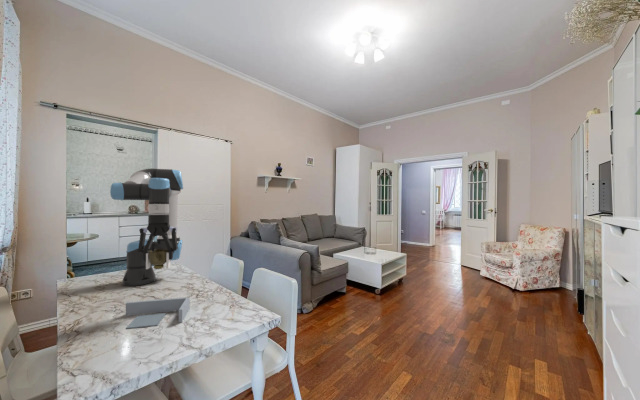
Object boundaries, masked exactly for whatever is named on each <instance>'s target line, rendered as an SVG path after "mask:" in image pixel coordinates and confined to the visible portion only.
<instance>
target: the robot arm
mask: <svg viewBox="0 0 640 400" xmlns="http://www.w3.org/2000/svg"><path fill="white" fill-rule="evenodd" d="M183 189H184V183H183V175H182V172H181V170H178V169H172V168H171V169H170V168H168V169H167V168H145V169H141V170H137V171H134V172H133V173H132V174H131V175H130V178H128V180H126V181H124V182H113V183H112V184H111V186H110V190H109V193H110V197H111V199H112V200H116V201H148V213H149V214H148V218H147V219H148V220H147V224H148V225H147V226H146V227H141V228H139V234H140V235H139V240H134V241H131V242H129V243H128V244H127V245H126V270H125V273H124V276H123V278H122V280H121V281H122V284H121V285H123V286H124V287H136V286H137V287H138V286H142V285H148V284H150V283H153V282H155V281H156V278H157V277H156V273H155V271H154V270H155V269H154V267H153V265H152V264H151V263H150V259H149V252H148V251H150V250H152V251H154V249H159V248H160V249H161V250H162V249H164V250H165V249H168V251H169V252H168V253H166V263H165V264H166V265H165V268H166V269H169V268H170V267H171V261H176V260H179V259H180V257H181V253H182V248H183V240H182V239H181V238H180V236H179V234H178V195H179V194H180V193H181V190H183ZM148 232H149V233H150V234H149V235H148V238H147V239H146V236H147V233H148ZM157 236H158V237H157ZM156 237H157V238H156ZM155 238H156V241H154V239H155Z"/></svg>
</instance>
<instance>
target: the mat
mask: <svg viewBox="0 0 640 400" xmlns="http://www.w3.org/2000/svg"><path fill="white" fill-rule="evenodd" d="M166 314H167V312H159V313H149V314H138V315H136V317H135V318H134V319H133V320H132V321H131V322H130V323H129V325H127V326H126V328H125V330H129V329H139V328H148V327H158V325H159V324H160V322H161V321H162V320H163V318H165V316H166Z"/></svg>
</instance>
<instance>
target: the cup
mask: <svg viewBox="0 0 640 400" xmlns="http://www.w3.org/2000/svg"><path fill="white" fill-rule="evenodd" d="M148 252H149V259H150V263H151V264H152V266H153V270H160V269H161V270H162V269H163V268H164V266H165V264H166V253H168V252H169V251H168V249H165V250H164V249H162V250H161V249H160V248H159V249H154V251H152V250H150V251H148Z"/></svg>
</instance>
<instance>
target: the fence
mask: <svg viewBox="0 0 640 400" xmlns="http://www.w3.org/2000/svg"><path fill="white" fill-rule="evenodd" d="M190 299H191V298H190V297H187V296H185V297H174V298H161V299H150V300H149V299H148V300H137V301H127V302H126V303H125V316H138V315H148V314H158V313H167V312H168V313H169V312H178V324H182V323H184V322H183V321H185V318H186V316H187V314H188V313H189V311H190V305H191V303H190V302H191V301H190Z"/></svg>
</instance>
